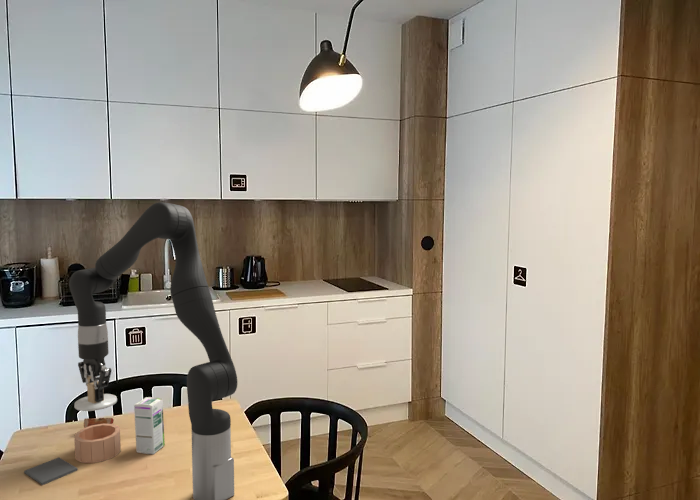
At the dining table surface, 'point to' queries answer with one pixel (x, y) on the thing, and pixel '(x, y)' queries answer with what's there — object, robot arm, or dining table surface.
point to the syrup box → (149, 425)
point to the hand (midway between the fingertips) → (95, 399)
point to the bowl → (97, 443)
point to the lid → (90, 403)
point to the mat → (50, 471)
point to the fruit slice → (97, 421)
